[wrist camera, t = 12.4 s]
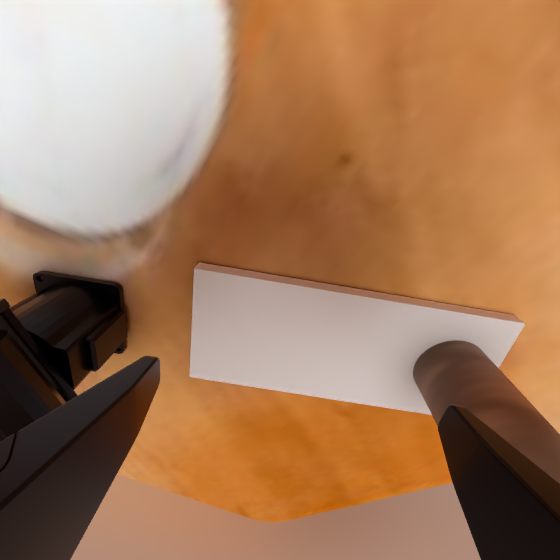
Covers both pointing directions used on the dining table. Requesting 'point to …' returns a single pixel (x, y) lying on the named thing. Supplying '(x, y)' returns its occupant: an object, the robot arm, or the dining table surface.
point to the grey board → (327, 336)
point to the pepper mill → (486, 399)
